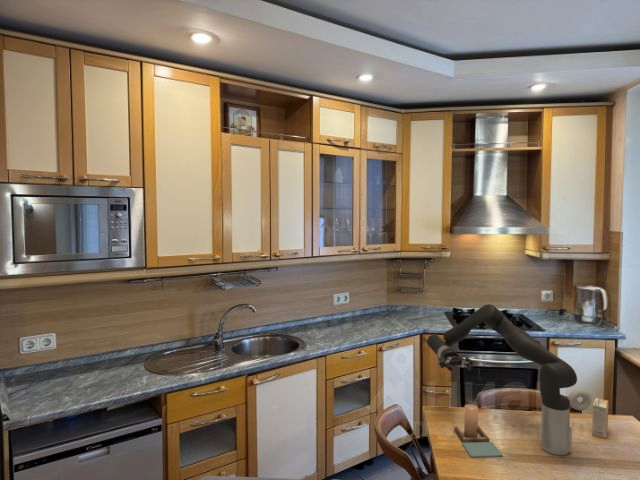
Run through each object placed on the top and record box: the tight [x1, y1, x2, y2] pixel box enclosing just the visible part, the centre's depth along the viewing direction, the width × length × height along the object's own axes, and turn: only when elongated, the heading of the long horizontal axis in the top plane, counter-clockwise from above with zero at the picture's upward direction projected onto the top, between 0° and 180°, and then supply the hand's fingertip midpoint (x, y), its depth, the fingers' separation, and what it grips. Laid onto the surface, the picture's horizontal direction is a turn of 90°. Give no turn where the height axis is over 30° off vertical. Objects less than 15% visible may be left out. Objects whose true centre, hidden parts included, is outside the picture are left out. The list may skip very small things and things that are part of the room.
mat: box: [461, 441, 504, 459], centre depth 159 cm, size 12×9×1 cm
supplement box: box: [591, 397, 609, 440], centre depth 171 cm, size 8×5×13 cm, turn 141°
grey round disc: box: [567, 388, 592, 411], centre depth 191 cm, size 10×4×10 cm, turn 89°
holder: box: [453, 425, 490, 443], centre depth 170 cm, size 10×10×2 cm
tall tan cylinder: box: [463, 403, 479, 438], centre depth 170 cm, size 5×5×12 cm
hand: (461, 368), depth 179 cm, fingers open, 8 cm apart
